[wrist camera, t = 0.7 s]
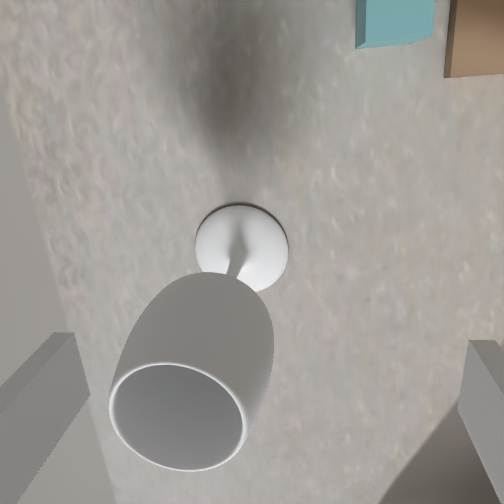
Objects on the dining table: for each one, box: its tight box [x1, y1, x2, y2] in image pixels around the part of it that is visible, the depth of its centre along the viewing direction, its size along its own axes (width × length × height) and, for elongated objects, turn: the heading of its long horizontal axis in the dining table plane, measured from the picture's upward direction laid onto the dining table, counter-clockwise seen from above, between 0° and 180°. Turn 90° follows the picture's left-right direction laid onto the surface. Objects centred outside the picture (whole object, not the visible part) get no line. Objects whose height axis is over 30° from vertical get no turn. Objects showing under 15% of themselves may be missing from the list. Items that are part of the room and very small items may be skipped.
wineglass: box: [108, 205, 288, 471], centre depth 28 cm, size 9×9×21 cm
